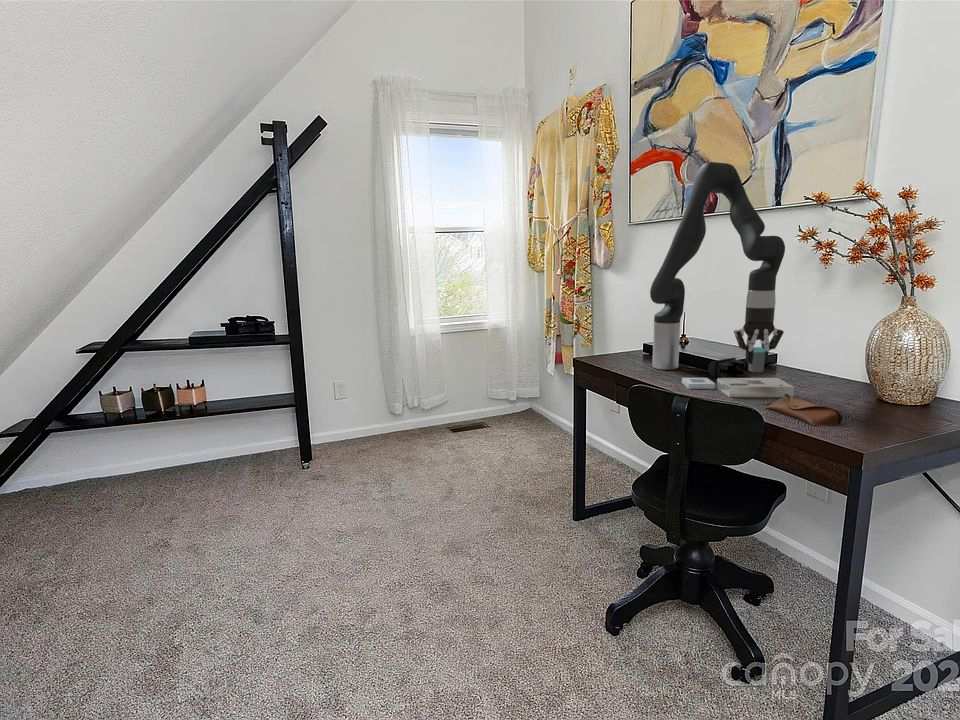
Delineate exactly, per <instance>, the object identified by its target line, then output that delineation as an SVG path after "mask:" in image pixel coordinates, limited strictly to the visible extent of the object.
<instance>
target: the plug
mask: <svg viewBox="0 0 960 720" xmlns="http://www.w3.org/2000/svg"><path fill="white" fill-rule="evenodd" d="M752 352H753V359H752V364H749V363H748V368H747V370H748V371H749V372H751V373H764V370H765V364H764V360H765V349H764V348H762V347H761V346H754V347H753V350H752Z"/></svg>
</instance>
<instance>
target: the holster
mask: <svg viewBox="0 0 960 720" xmlns="http://www.w3.org/2000/svg"><path fill="white" fill-rule="evenodd" d="M681 383H682V384H683V386H685V387H686V388H687V389H688V390H691V389H692V390H693V389H694V390H695V389H696V390H698V389H699V390H700V389H701V390H703V389H704V390H706V389H707V390H708V389H709V390H710V389H712V390H714V389H716V383H715V382H714V381H712V380H711V379H710V378H708V377H681Z"/></svg>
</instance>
